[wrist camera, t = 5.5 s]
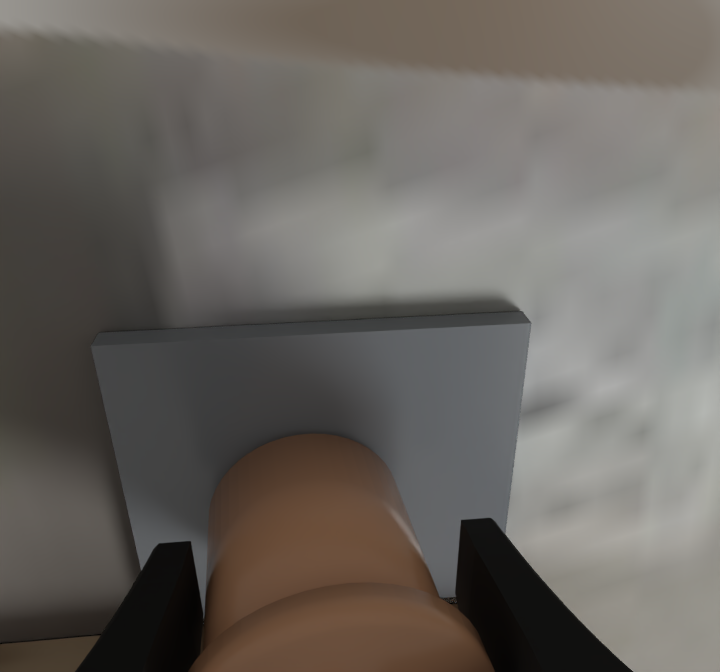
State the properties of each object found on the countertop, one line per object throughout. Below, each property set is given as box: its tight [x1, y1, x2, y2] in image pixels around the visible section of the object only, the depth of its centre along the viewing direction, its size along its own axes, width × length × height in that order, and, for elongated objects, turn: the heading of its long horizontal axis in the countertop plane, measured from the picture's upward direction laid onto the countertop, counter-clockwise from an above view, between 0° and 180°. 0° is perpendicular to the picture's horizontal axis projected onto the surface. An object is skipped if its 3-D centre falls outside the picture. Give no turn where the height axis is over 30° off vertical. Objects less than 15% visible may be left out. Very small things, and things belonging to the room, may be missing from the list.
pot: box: [188, 434, 495, 672], centre depth 12 cm, size 5×5×6 cm
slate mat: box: [91, 311, 531, 619], centre depth 15 cm, size 9×8×1 cm
